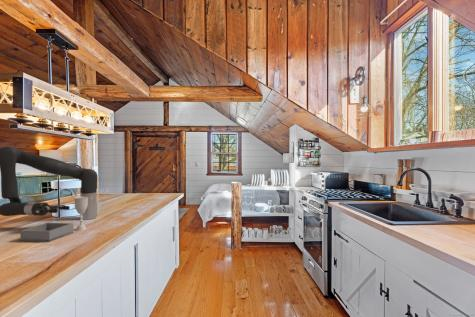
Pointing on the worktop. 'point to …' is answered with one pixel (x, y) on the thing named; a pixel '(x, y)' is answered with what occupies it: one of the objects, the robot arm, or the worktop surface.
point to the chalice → (81, 209)
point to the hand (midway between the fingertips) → (63, 209)
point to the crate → (46, 232)
